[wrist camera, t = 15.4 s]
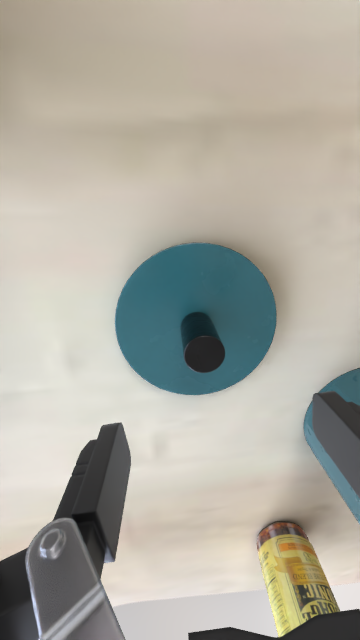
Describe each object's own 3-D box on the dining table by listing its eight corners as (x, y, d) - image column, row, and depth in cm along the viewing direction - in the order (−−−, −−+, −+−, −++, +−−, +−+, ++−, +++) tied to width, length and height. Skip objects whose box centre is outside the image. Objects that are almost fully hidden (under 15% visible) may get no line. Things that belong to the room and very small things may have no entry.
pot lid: (99, 257, 19) (71, 269, 14) (267, 228, 19) (308, 228, 14) (136, 397, 24) (126, 450, 18) (274, 374, 24) (307, 421, 18)
